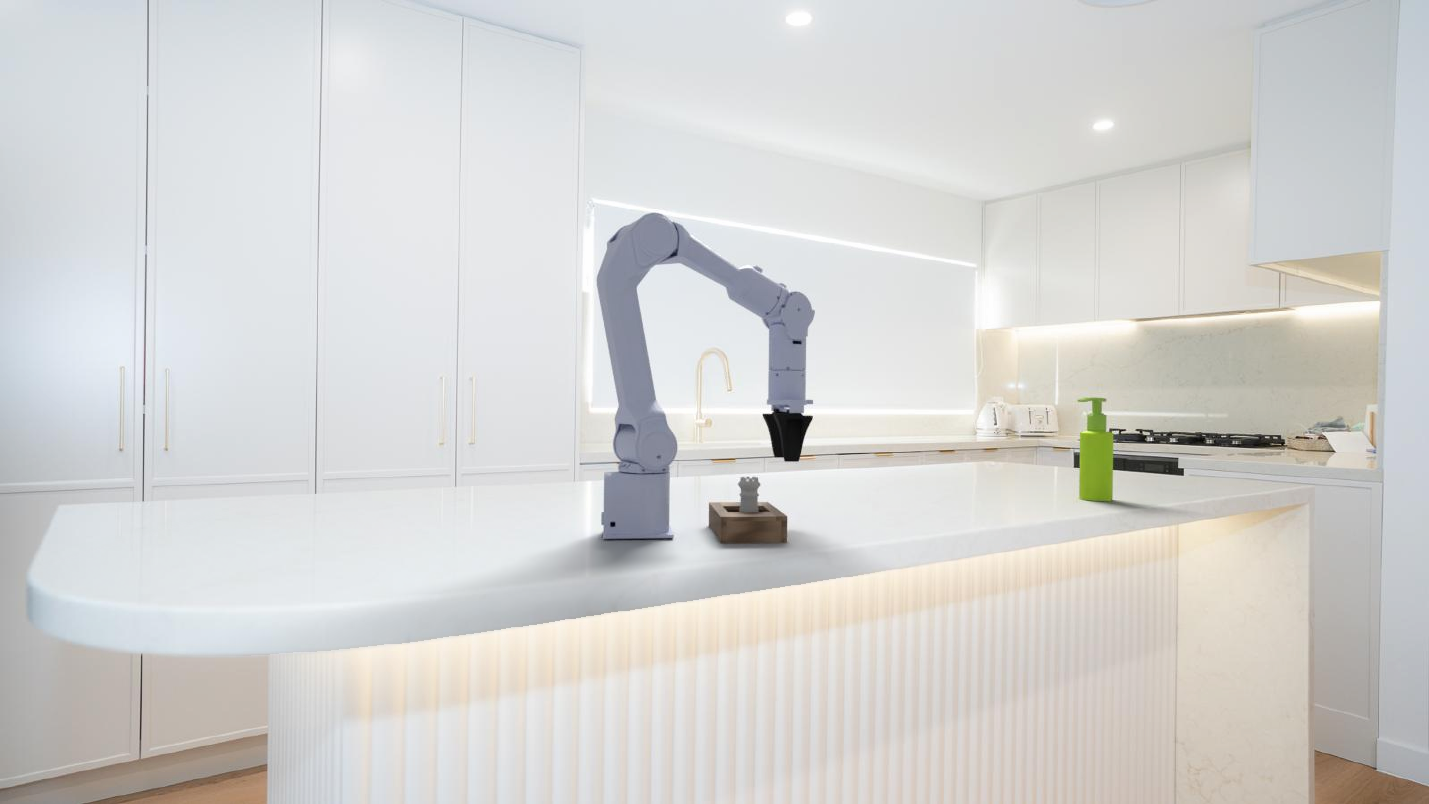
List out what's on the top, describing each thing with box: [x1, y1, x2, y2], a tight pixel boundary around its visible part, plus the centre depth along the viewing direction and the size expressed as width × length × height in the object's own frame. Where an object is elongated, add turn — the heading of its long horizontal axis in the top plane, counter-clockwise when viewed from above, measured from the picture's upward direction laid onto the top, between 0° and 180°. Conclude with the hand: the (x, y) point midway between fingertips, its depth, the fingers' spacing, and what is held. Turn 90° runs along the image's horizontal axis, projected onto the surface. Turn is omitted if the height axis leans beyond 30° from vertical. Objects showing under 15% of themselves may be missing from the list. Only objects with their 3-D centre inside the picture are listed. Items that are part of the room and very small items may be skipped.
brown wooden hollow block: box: [708, 501, 788, 544], centre depth 110 cm, size 9×14×4 cm, turn 7°
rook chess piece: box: [737, 476, 761, 512], centre depth 110 cm, size 4×4×8 cm
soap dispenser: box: [1077, 397, 1114, 502], centre depth 152 cm, size 6×7×20 cm
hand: (786, 459), depth 119 cm, fingers open, 7 cm apart
